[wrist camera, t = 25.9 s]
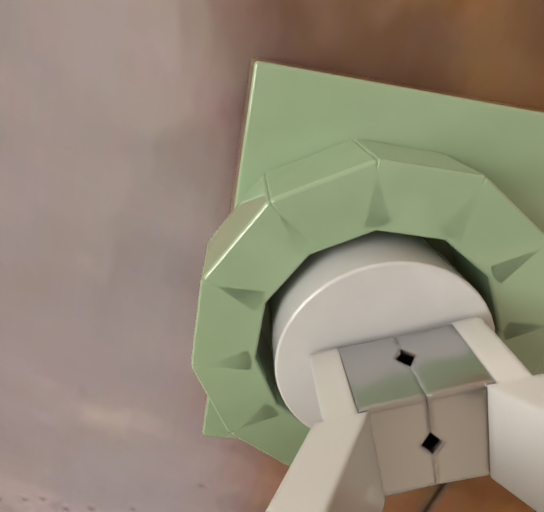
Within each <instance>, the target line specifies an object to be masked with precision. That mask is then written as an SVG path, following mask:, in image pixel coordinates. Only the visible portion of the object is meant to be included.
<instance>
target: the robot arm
mask: <svg viewBox="0 0 544 512" xmlns="http://www.w3.org/2000/svg"><path fill="white" fill-rule="evenodd" d="M309 361H310V365H311V370H312V375H313V379H314V384H315V389H316V393H317V398H318V403H319V407H320V412H321V417H322V421H321V422H317V423H314V424H313V425H312V427H311V429H310V431H309V433H308V435H307V436H306V438H305V440H304V442H303V444H302V446H301V447H300V449H299V451H298V453H297V455H296V457H295V458H294V460H293V462H292V464H291V466H290V468H289V469H288V471H287V473H286V475H285V477H284V479H283V480H282V482H281V484H280V486H279V488H278V490H277V491H276V493H275V495H274V497H273V499H272V501H271V502H270V504H269V506H268V508H267V510H266V512H382V511H383V507H384V503H385V497H386V496H390V495H394V494H398V493H402V492H407V491H411V490H415V489H419V488H423V487H427V486H432V485H436V484H441V483H447V482H452V481H458V480H464V479H469V478H475V477H480V476H486V475H490V477H491V478H492V479H493V480H495V481H496V482H497V483H499V484H500V485H501V486H503V487H504V488H505V489H507V490H508V491H509V492H511V493H512V494H514V495H515V496H516V497H518V498H519V499H520V500H522V501H523V502H524V503H526V504H527V505H528V506H530V507H531V508H532V509H534V510H535V511H536V512H544V374H543V373H542V374H537V375H533V374H532V373H531V372H530V371H529V370H528V369H527V368H526V367H525V366H524V364H523V363H522V362H521V361H520V360H519V359H518V358H517V357H516V356H515V354H514V353H513V352H512V351H511V350H510V349H509V348H508V347H507V346H506V344H505V343H504V342H503V341H502V340H501V339H500V338H499V337H498V336H497V334H496V333H495V332H494V331H493V330H492V329H491V328H490V327H489V326H488V324H487V323H486V322H485V321H484V320H483V319H482V318H480V317H477V316H476V317H472V318H468V319H464V320H460V321H456V322H452V323H448V325H443V326H439V327H435V328H430V329H426V330H422V331H417V332H413V333H408V334H404V335H400V336H395V337H388V338H383V339H379V340H374V341H369V342H364V343H359V344H354V345H349V346H344V347H339V348H338V350H337V349H336V348H335V349H330V350H325V351H321V352H316V353H312V354H309Z"/></svg>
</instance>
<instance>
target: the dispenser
mask: <svg viewBox="0 0 544 512" xmlns="http://www.w3.org/2000/svg"><path fill="white" fill-rule="evenodd" d="M376 230H378V231H385V232H392V233H399V234H406V235H413V236H420V237H424V238H426V239H427V240H428V241H429V242H430V243H431V244H432V245H433V246H434V247H435V248H436V249H437V250H438V251H439V252H440V253H441V254H442V255H443V256H444V257H445V258H446V259H447V260H448V261H449V262H450V263H451V264H452V265H453V266H454V268H455V269H456V270H457V271H458V272H459V273H460V274H461V275H462V276H463V277H464V278H465V279H466V280H467V281H468V282H469V283H470V284H471V285H472V286H473V287H474V288H475V289H476V290H477V291H478V292H479V294H480V295H481V296H482V298H483V299H484V301H485V302H486V304H487V306H488V308H489V310H490V312H491V315H492V319H493V322H494V326H495V333H496V334H497V336H498V337H499V338H500V339H501V340H502V341H503V342H504V343H505V344H506V346H507V347H508V348H509V349H510V350H511V351H512V352H513V353H514V354H515V356H516V357H517V358H518V359H519V360H520V361H521V362H522V363H523V364H524V366H525V367H526V368H527V369H528V370H529V371H530V372H531V373H532V374H533V375H537V374H542V373H543V374H544V110H542V109H536V108H531V107H525V106H520V105H514V104H509V103H503V102H498V101H492V100H487V99H481V98H476V97H470V96H465V95H459V94H454V93H448V92H443V91H437V90H432V89H427V88H421V87H416V86H410V85H405V84H399V83H394V82H388V81H383V80H377V79H372V78H366V77H361V76H355V75H350V74H344V73H339V72H333V71H328V70H322V69H317V68H311V67H306V66H300V65H295V64H289V63H284V62H278V61H273V60H267V59H262V58H256V57H252V58H251V61H250V69H249V76H248V83H247V90H246V98H245V105H244V112H243V119H242V127H241V134H240V141H239V148H238V156H237V163H236V170H235V177H234V184H233V192H232V199H231V206H230V213H229V216H228V217H227V218H226V220H225V221H224V222H223V223H222V225H221V226H220V227H219V228H218V229H217V231H216V232H215V233H214V234H213V236H212V237H211V238H210V239H209V243H207V246H206V252H205V258H204V263H203V269H202V275H201V281H200V289H199V297H198V306H197V314H196V322H195V331H194V339H193V348H192V356H191V364H192V369H193V371H194V372H195V374H196V376H197V378H198V380H199V381H200V383H201V385H202V387H203V388H204V390H205V392H206V398H205V408H204V418H203V428H202V434H203V436H210V437H222V438H235V439H241V440H242V441H244V442H246V443H248V444H250V445H251V446H253V447H255V448H257V449H259V450H260V451H262V452H264V453H266V454H268V455H269V456H271V457H273V458H275V459H277V460H278V461H280V462H282V463H284V464H286V465H287V466H289V467H290V466H291V464H292V462H293V460H294V458H295V457H296V455H297V453H298V451H299V449H300V447H301V446H302V444H303V442H304V440H305V438H306V436H307V435H308V433H309V431H310V428H309V427H307V426H306V425H304V424H303V423H302V422H301V421H300V420H299V419H297V418H296V417H295V416H294V414H293V413H292V412H291V411H290V409H289V408H288V407H287V406H286V404H285V402H284V400H283V399H282V397H281V395H280V392H279V389H278V387H277V382H276V377H275V371H274V361H273V351H272V342H271V332H270V323H269V307H268V306H269V298H270V297H271V296H272V295H273V294H274V293H275V292H276V291H277V290H278V289H279V288H280V286H281V285H282V284H283V283H284V282H285V281H286V280H287V279H288V278H289V277H290V276H291V274H292V273H293V272H294V271H295V270H296V269H297V268H298V267H299V266H300V265H301V264H302V262H303V261H304V260H305V259H306V258H307V257H308V256H309V255H310V254H313V253H315V252H318V251H321V250H324V249H326V248H329V247H332V246H335V245H337V244H340V243H343V242H346V241H348V240H351V239H354V238H357V237H360V236H362V235H365V234H368V233H371V232H373V231H376Z"/></svg>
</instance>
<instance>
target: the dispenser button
mask: <svg viewBox="0 0 544 512" xmlns="http://www.w3.org/2000/svg"><path fill="white" fill-rule="evenodd" d="M268 307H269V323H270V332H271V342H272V351H273V361H274V371H275V377H276V382H277V387H278V389H279V392H280V395H281V397H282V399H283V400H284V402H285V404H286V406H287V407H288V408H289V409H290V411H291V412H292V413H293V414H294V416H295V417H296V418H297V419H299V420H300V421H301V422H302V423H303V424H304V425H306V426H307V427H309V428H310V429H311V427H312V425H313V424H314V423H317V422H321V421H322V417H321V412H320V407H319V403H318V398H317V393H316V389H315V384H314V379H313V375H312V370H311V365H310V361H309V354H312V353H316V352H321V351H325V350H330V349H335V348H336V349H337V350H338V348H339V347H344V346H349V345H354V344H359V343H364V342H369V341H374V340H379V339H383V338H388V337H395V336H400V335H404V334H408V333H413V332H417V331H422V330H426V329H430V328H435V327H439V326H443V325H448V323H452V322H456V321H460V320H464V319H468V318H472V317H476V316H477V317H480V318H482V319H483V320H484V321H485V322H486V323H487V324H488V326H489V327H490V328H491V329H492V330H493V331H494V332H495V326H494V322H493V319H492V315H491V312H490V310H489V308H488V306H487V304H486V302H485V301H484V299H483V298H482V296H481V295H480V294H479V292H478V291H477V290H476V289H475V288H474V287H473V286H472V285H471V284H470V283H469V282H468V281H467V280H466V279H465V278H464V277H463V276H462V275H461V274H460V273H459V272H458V271H457V270H456V269H455V268H454V266H453V265H452V264H451V263H450V262H449V261H448V260H447V259H446V258H445V257H444V256H443V255H442V254H441V253H440V252H439V251H438V250H437V249H436V248H435V247H434V246H433V245H432V244H431V243H430V242H429V241H428V240H427V239H426V238H424V237H420V236H413V235H406V234H399V233H392V232H385V231H378V230H376V231H373V232H371V233H368V234H365V235H362V236H360V237H357V238H354V239H351V240H348V241H346V242H343V243H340V244H337V245H335V246H332V247H329V248H326V249H324V250H321V251H318V252H315V253H313V254H310V255H309V256H308V257H307V258H306V259H305V260H304V261H303V262H302V264H301V265H300V266H299V267H298V268H297V269H296V270H295V271H294V272H293V273H292V274H291V276H290V277H289V278H288V279H287V280H286V281H285V282H284V283H283V284H282V285H281V286H280V288H279V289H278V290H277V291H276V292H275V293H274V294H273V295H272V296H271V297H270V298H269V306H268Z"/></svg>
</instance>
